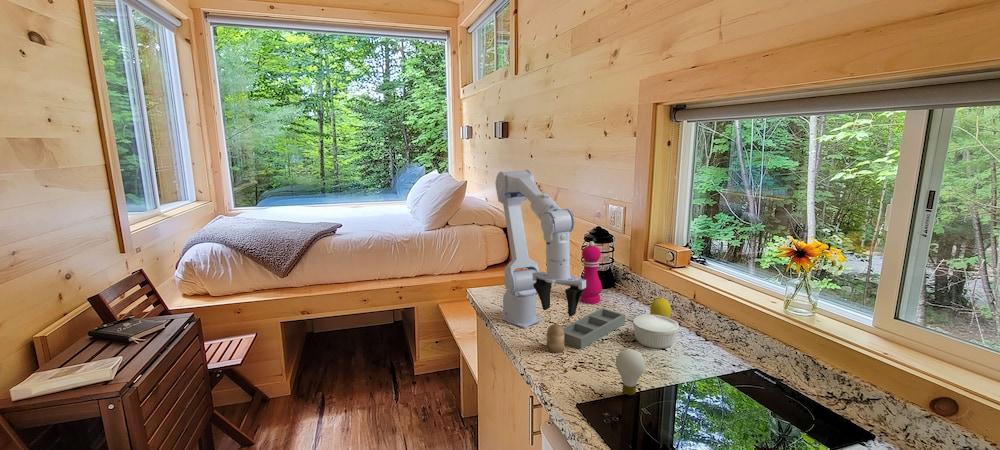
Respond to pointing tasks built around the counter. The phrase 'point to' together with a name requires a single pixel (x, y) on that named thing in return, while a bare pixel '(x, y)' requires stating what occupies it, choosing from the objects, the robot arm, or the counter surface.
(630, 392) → the light bulb
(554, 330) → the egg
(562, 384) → the counter surface
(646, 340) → the ramekin
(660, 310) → the lemon
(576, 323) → the tray
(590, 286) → the pepper mill
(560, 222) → the robot arm
